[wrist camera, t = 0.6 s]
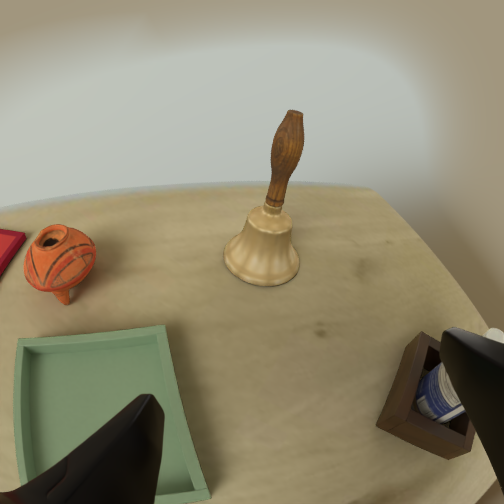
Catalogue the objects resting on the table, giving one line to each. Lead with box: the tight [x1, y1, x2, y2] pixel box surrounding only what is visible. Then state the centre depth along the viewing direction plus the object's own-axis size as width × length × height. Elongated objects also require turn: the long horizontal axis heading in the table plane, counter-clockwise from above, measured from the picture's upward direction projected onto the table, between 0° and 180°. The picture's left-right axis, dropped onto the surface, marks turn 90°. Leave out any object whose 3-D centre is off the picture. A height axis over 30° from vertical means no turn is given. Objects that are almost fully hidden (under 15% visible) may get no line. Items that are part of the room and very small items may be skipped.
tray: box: [13, 325, 211, 504], centre depth 15 cm, size 14×14×2 cm
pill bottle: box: [411, 328, 504, 424], centre depth 16 cm, size 5×5×10 cm
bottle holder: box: [376, 331, 475, 460], centre depth 18 cm, size 9×9×3 cm
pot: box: [24, 224, 96, 305], centre depth 22 cm, size 8×8×7 cm
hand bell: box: [224, 110, 304, 286], centre depth 25 cm, size 8×8×16 cm
